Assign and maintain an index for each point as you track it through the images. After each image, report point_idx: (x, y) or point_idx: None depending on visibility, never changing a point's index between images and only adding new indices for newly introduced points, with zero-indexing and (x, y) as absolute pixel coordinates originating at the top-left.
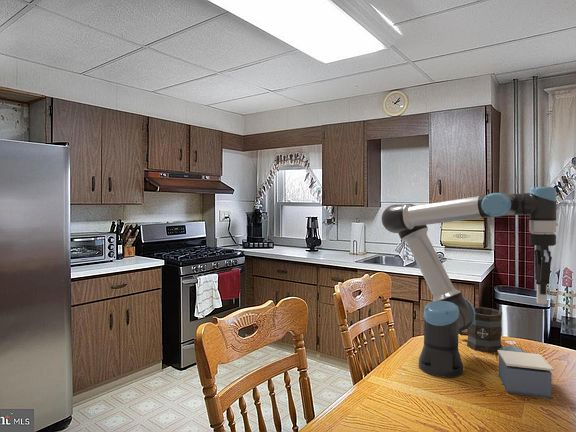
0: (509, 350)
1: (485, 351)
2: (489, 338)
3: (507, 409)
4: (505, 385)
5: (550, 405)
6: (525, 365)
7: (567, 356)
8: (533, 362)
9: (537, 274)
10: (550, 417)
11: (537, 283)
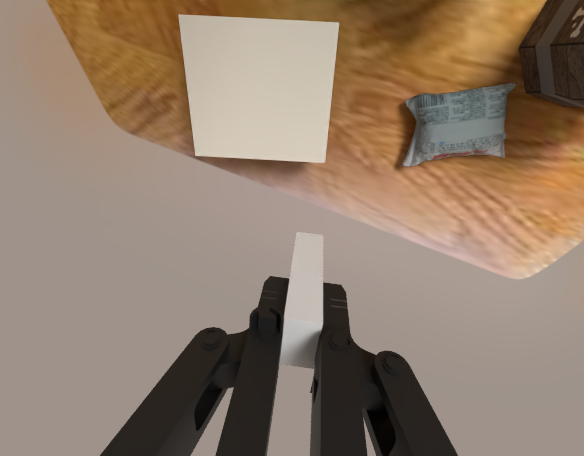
0: (456, 104)
1: (530, 33)
2: (557, 45)
3: (124, 4)
4: None
5: None
6: (189, 80)
7: (479, 258)
8: (232, 117)
9: (321, 408)
10: (135, 101)
11: (253, 316)
